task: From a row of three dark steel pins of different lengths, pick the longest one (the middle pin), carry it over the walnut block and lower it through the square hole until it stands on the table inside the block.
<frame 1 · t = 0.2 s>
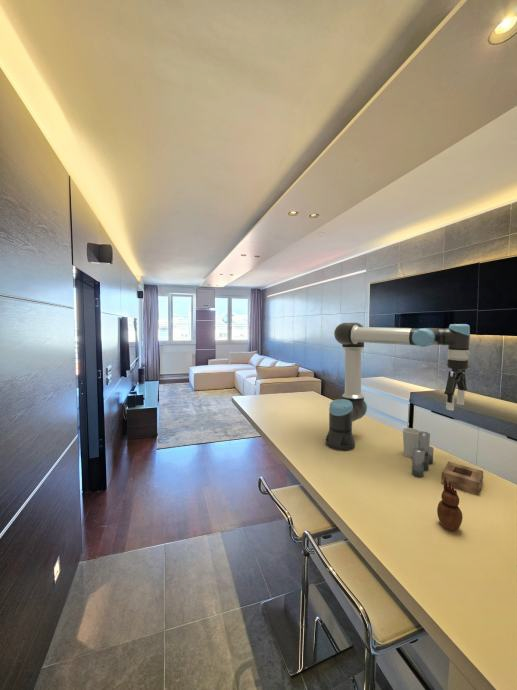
hand: (455, 407, 130), 27 cm above the breakfast bar, fingers open, 13 cm apart
short pin: (427, 462, 137), on the breakfast bar
cup: (410, 454, 145), on the breakfast bar
wooden figurine: (448, 526, 94), on the breakfast bar
hole block: (461, 483, 119), on the breakfast bar
long pin: (422, 468, 131), on the breakfast bar
medium pin: (417, 475, 125), on the breakfast bar
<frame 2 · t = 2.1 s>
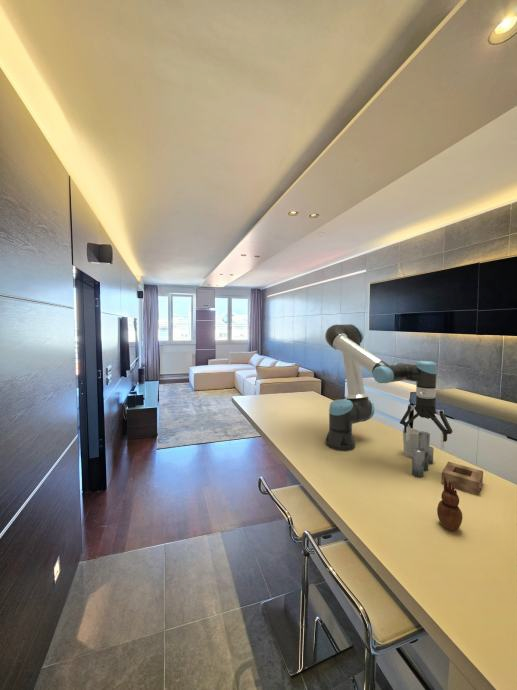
hand: (424, 444, 130), 11 cm above the breakfast bar, fingers open, 13 cm apart
nothing on the breakfast bar moved.
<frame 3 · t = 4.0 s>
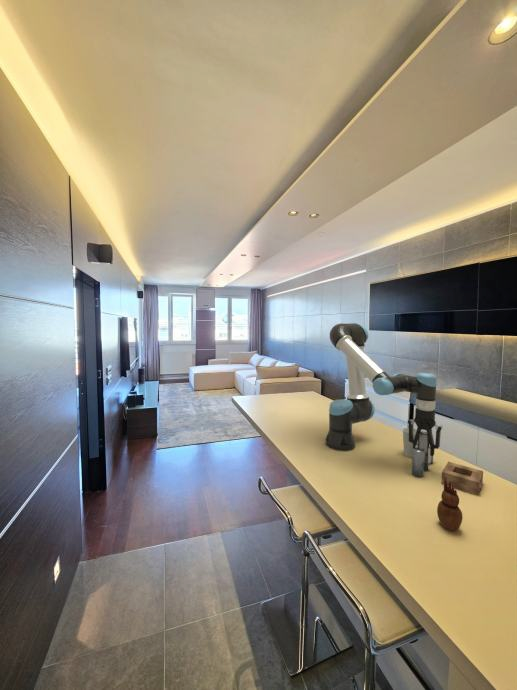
hand: (423, 460, 131), 4 cm above the breakfast bar, fingers closed on long pin, 4 cm apart
long pin: (422, 468, 131), on the breakfast bar, touching gripper
everything else where it was.
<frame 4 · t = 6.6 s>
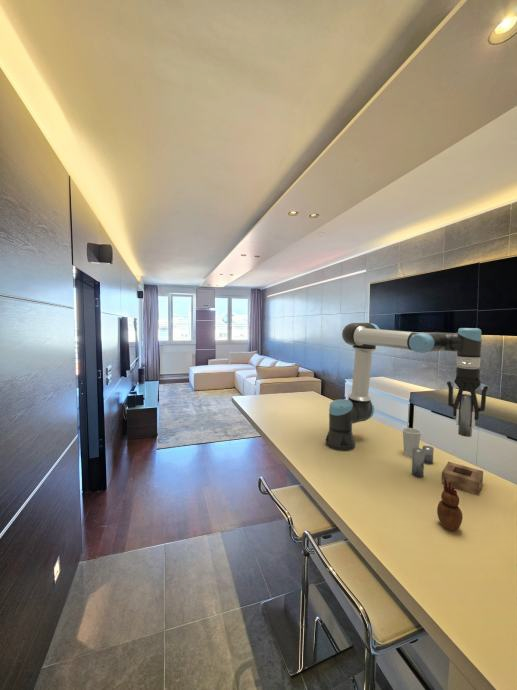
hand: (465, 425, 117), 24 cm above the breakfast bar, fingers closed on long pin, 4 cm apart
long pin: (464, 434, 117), point 20 cm above the breakfast bar, touching gripper
everything else where it was.
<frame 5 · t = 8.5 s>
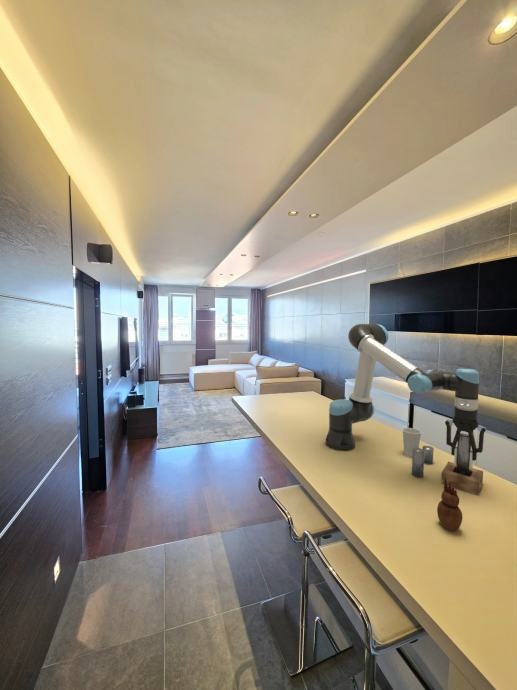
hand: (463, 465, 118), 8 cm above the breakfast bar, fingers closed on long pin, 4 cm apart
long pin: (462, 474, 118), point 4 cm above the breakfast bar, touching gripper
everything else where it was.
when the fingers open (6 cm above the breakfast bar, at t = 9.6 s): long pin drops 3 cm, resting in hole block.
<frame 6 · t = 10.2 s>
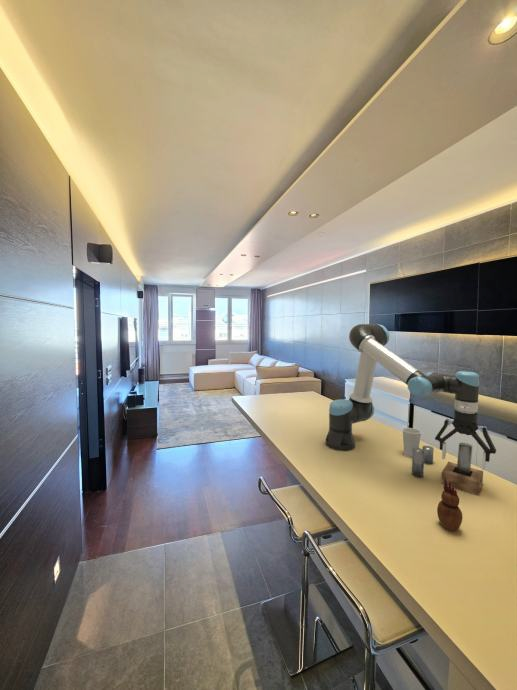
hand: (463, 463, 118), 8 cm above the breakfast bar, fingers open, 13 cm apart
long pin: (462, 483, 119), resting in hole block
everything else where it was.
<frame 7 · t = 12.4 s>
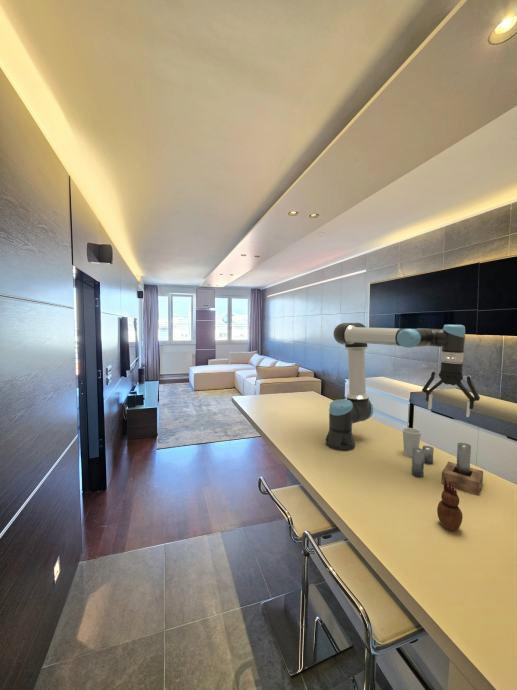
hand: (448, 412, 123), 27 cm above the breakfast bar, fingers open, 13 cm apart
nothing on the breakfast bar moved.
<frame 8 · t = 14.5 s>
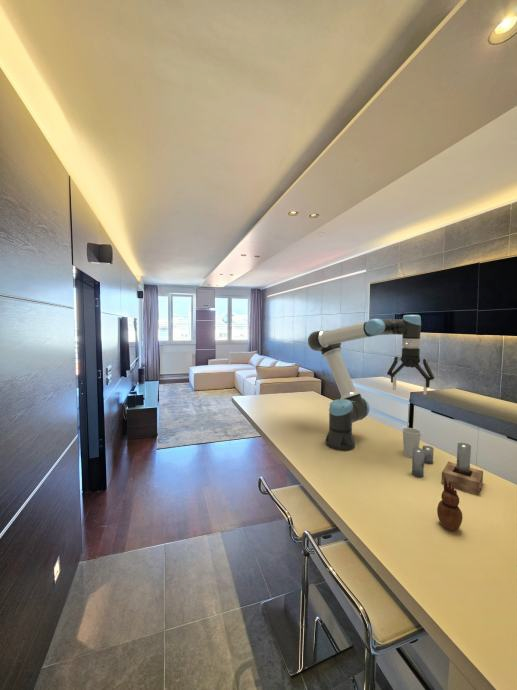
hand: (409, 391, 141), 32 cm above the breakfast bar, fingers open, 13 cm apart
nothing on the breakfast bar moved.
at the end: long pin 0.1 cm off-centre on the hole block, point 0.0 cm above the hole block's base; long pin tilted 0°; the gripper is holding nothing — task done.
